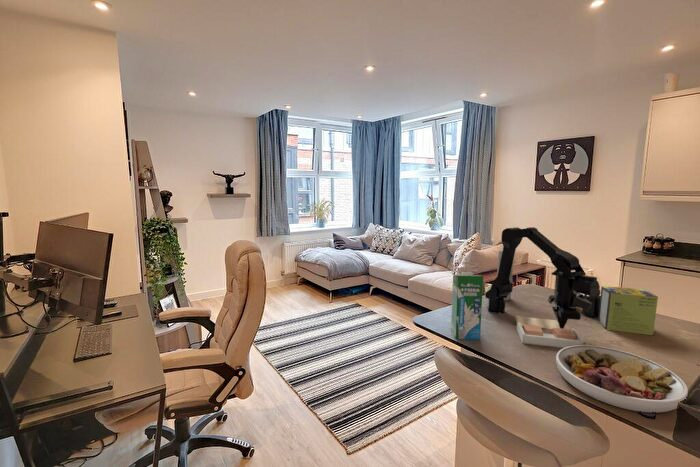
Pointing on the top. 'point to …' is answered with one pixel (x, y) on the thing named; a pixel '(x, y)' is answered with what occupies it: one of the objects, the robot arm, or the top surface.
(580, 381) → the bowl
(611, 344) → the top surface
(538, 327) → the tile
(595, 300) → the supplement bottle
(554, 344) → the tray
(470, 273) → the milk carton
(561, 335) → the tile
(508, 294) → the water bottle
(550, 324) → the oak board
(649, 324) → the protein box
